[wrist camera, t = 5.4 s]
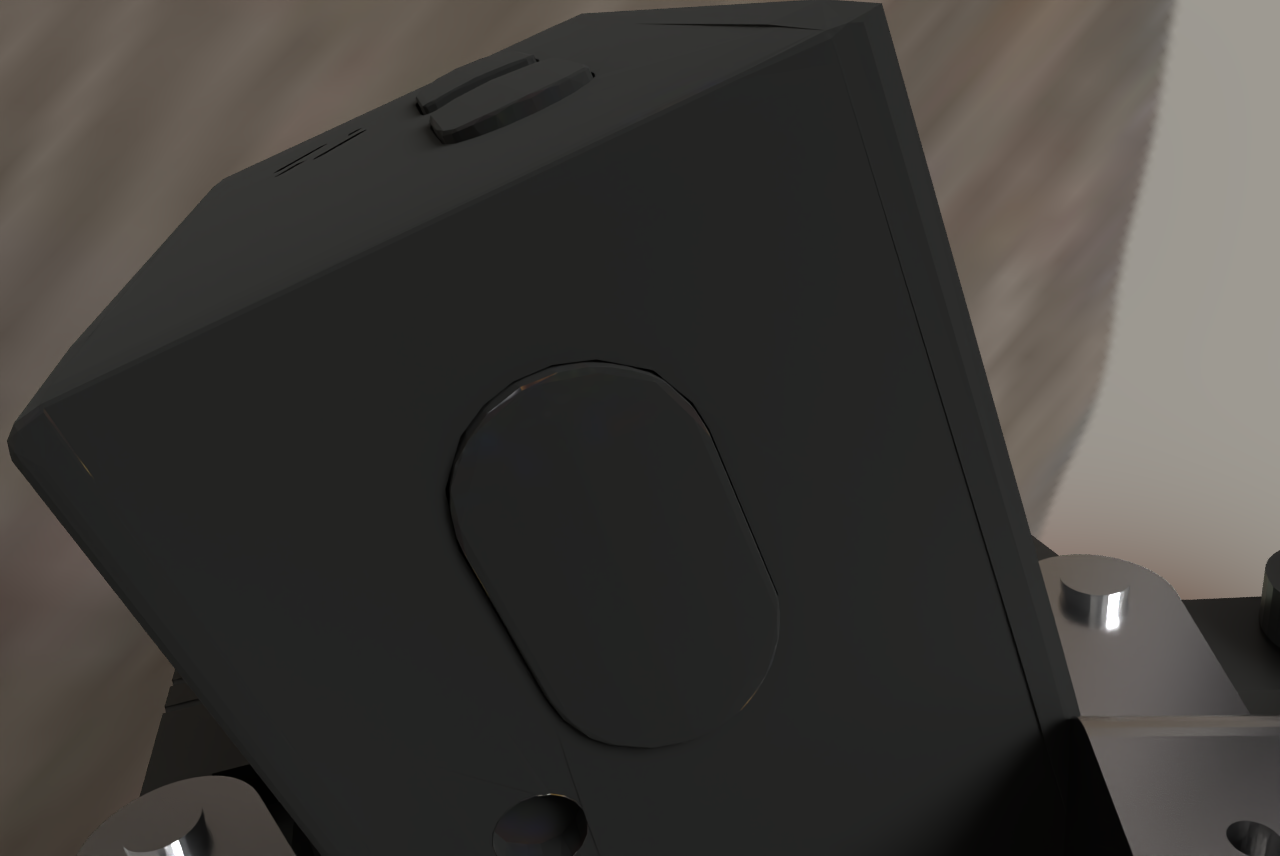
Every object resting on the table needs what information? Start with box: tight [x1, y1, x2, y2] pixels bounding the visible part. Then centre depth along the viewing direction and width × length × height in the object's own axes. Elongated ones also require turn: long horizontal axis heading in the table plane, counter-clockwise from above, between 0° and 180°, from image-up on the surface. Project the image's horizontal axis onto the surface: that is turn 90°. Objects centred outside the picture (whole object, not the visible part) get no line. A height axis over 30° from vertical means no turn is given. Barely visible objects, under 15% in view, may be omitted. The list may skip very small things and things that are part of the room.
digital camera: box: [7, 0, 1081, 856], centre depth 10 cm, size 10×5×7 cm, turn 23°
